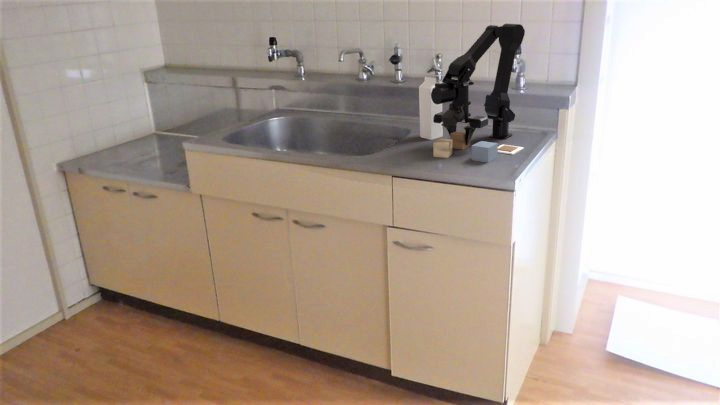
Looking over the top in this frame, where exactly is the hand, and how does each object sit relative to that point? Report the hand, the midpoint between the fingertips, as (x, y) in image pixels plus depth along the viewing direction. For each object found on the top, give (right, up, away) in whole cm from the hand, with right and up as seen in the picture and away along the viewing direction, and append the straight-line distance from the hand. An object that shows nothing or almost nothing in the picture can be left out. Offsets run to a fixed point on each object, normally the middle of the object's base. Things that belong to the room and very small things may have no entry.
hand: (460, 143), depth 209 cm
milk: (-8, +4, +14) cm, 17 cm away
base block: (+6, -6, -14) cm, 16 cm away
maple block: (-7, -5, -7) cm, 11 cm away
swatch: (+15, -3, -7) cm, 17 cm away
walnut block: (0, -1, 0) cm, 1 cm away
